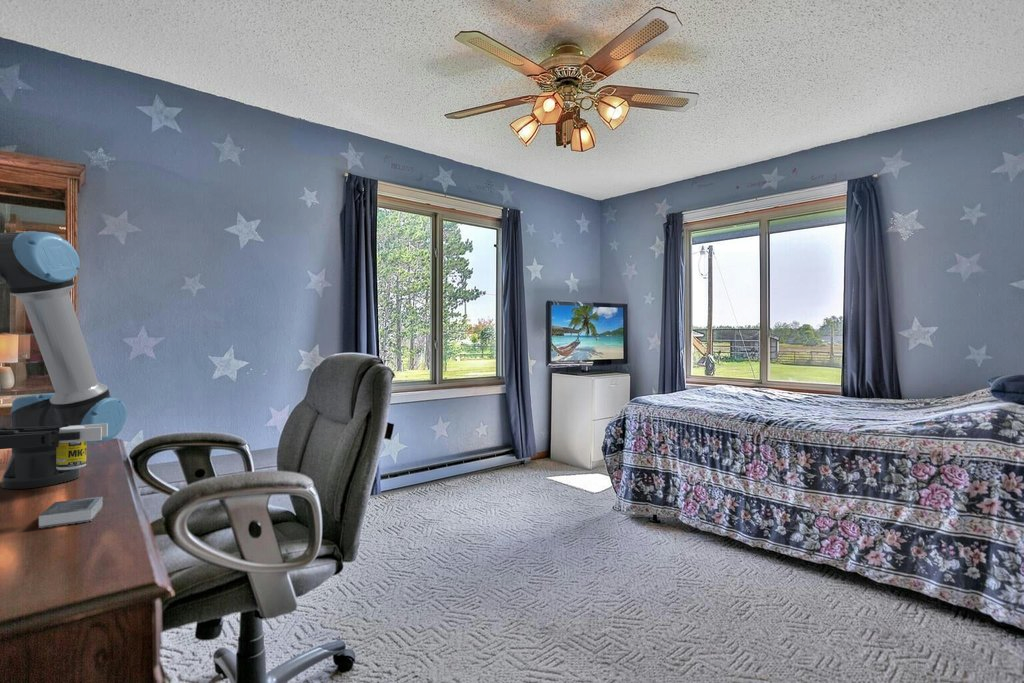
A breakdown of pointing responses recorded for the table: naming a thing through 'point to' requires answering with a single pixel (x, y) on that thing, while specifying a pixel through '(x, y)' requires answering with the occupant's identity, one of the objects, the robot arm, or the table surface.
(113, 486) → the table surface
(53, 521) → the rectangular metal tray
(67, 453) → the supplement bottle
